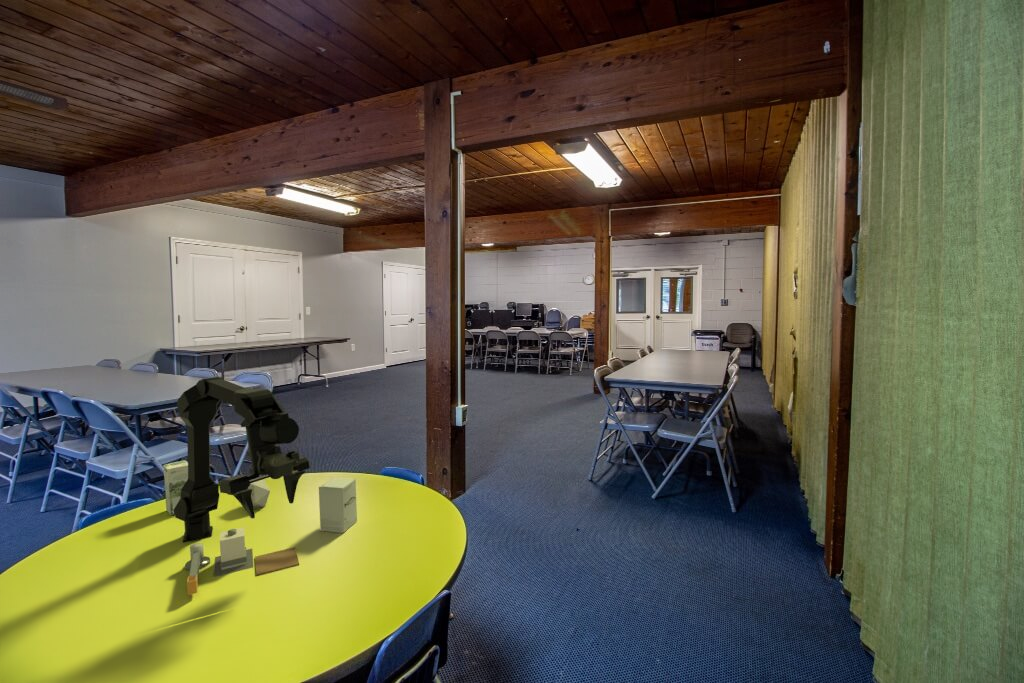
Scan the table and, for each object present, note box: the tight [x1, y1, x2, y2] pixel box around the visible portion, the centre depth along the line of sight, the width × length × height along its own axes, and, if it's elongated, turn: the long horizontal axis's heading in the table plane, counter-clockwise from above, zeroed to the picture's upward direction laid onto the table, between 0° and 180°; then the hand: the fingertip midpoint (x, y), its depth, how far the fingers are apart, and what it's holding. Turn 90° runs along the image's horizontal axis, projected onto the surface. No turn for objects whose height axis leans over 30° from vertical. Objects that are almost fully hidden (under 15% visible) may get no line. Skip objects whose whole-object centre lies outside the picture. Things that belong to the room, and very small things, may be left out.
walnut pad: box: [254, 546, 300, 577], centre depth 117 cm, size 9×9×1 cm
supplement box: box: [318, 477, 358, 534], centre depth 135 cm, size 7×7×13 cm
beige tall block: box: [219, 526, 247, 570], centre depth 116 cm, size 5×5×8 cm
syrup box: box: [162, 460, 188, 516], centre depth 146 cm, size 6×6×14 cm
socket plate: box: [213, 548, 254, 578], centre depth 116 cm, size 10×8×1 cm
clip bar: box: [186, 542, 205, 596], centre depth 109 cm, size 16×3×4 cm, turn 30°
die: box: [248, 479, 271, 510], centre depth 148 cm, size 8×9×10 cm
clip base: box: [184, 555, 211, 572], centre depth 115 cm, size 5×5×1 cm
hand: (272, 510), depth 113 cm, fingers open, 9 cm apart
